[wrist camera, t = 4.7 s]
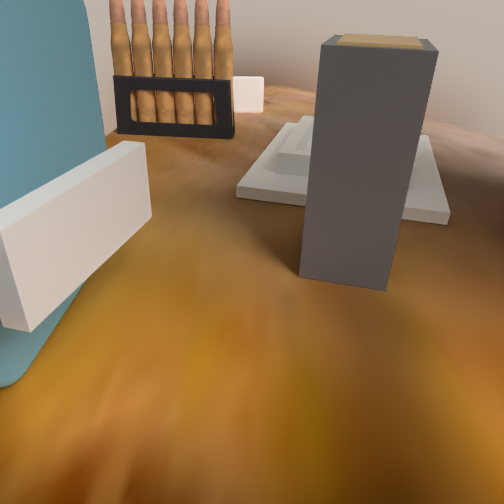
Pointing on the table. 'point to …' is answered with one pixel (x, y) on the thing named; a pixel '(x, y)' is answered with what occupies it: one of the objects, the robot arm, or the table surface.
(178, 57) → the ammunition clip
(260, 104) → the eraser
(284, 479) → the table surface
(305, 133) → the dock tray
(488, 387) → the table surface
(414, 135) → the grey upright block
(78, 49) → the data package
